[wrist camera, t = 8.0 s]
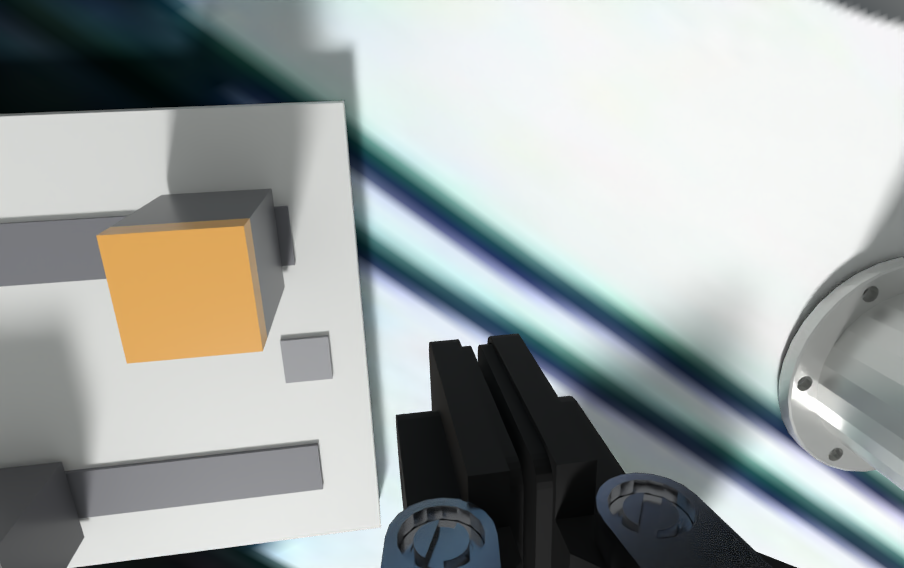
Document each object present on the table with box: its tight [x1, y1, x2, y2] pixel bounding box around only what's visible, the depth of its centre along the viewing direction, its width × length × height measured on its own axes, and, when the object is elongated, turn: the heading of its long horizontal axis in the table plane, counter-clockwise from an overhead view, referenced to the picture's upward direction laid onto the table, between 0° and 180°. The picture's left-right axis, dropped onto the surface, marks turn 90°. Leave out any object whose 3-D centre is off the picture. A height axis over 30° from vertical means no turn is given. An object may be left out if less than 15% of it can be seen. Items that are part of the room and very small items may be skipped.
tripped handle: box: [96, 189, 285, 364], centre depth 21 cm, size 4×4×6 cm
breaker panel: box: [0, 101, 381, 568], centre depth 26 cm, size 20×20×2 cm
